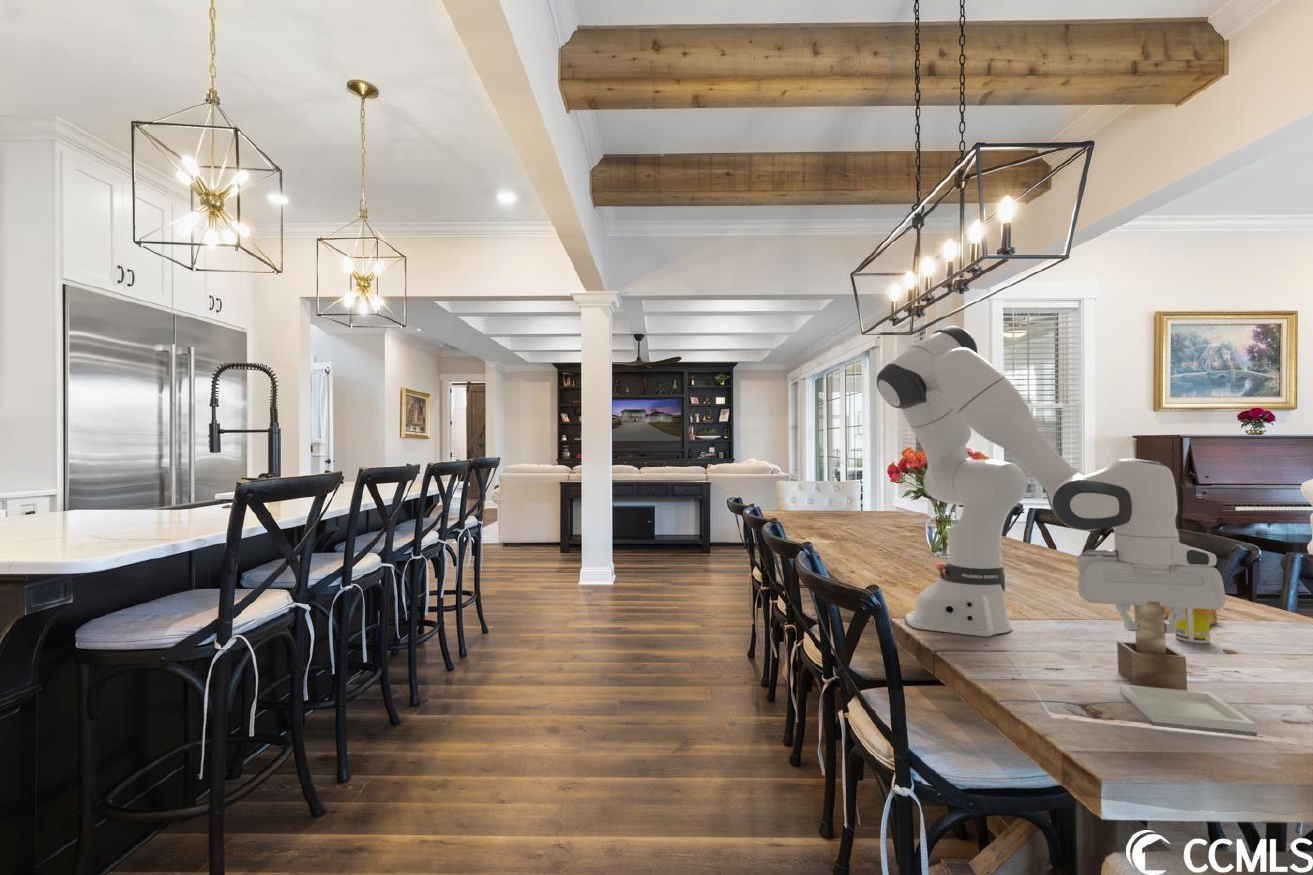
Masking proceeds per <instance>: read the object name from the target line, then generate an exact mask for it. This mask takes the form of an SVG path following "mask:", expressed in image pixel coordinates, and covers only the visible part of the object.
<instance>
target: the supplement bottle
mask: <svg viewBox="0 0 1313 875" xmlns="http://www.w3.org/2000/svg"><path fill="white" fill-rule="evenodd" d="M1183 609H1184V615H1183V616H1182V617H1181V619H1180V620H1179V621H1178V623H1177V624H1176V634H1174V635H1175V637H1176V639H1177V640H1180V641H1182V642H1186V643H1191V644H1209V642H1210V640H1211V633H1210V632H1211V631H1210V625H1209V612H1208V609H1197V608H1183Z"/></svg>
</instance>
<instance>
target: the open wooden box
mask: <svg viewBox="0 0 1313 875" xmlns="http://www.w3.org/2000/svg"><path fill="white" fill-rule="evenodd" d="M1116 648H1117V649H1116V650H1117V651H1116V652H1117V669H1118V670H1117V671H1118V672H1117V673H1119V674H1120V675H1121V676H1123V677H1124V678H1125V679H1126V680H1128V681H1129V682H1130V683H1131V684H1132V685H1133V686H1144V687H1155V688H1167V689H1178V690H1188V680H1187V678H1188V677H1187V676H1188V674H1187V657H1186V656H1185V655H1183V654H1182V653H1180V652H1179V651H1177V650H1175V649H1173V648H1172V647H1170V646H1169V645H1167V644H1166V655H1164V654H1150V653H1136V641H1135V642H1133V641H1132V642H1131V641H1120V640H1117V641H1116Z"/></svg>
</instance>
